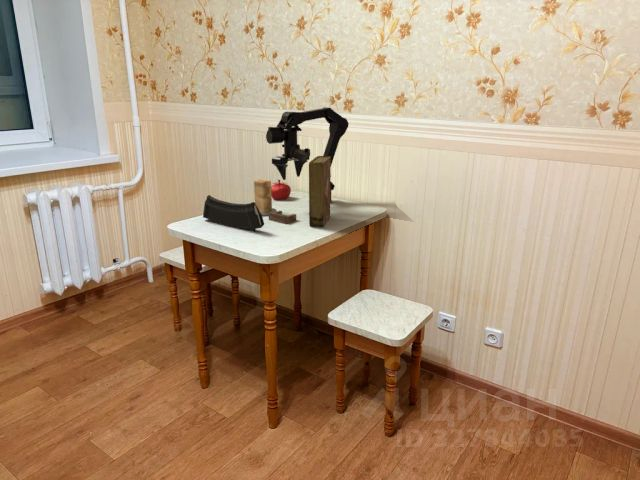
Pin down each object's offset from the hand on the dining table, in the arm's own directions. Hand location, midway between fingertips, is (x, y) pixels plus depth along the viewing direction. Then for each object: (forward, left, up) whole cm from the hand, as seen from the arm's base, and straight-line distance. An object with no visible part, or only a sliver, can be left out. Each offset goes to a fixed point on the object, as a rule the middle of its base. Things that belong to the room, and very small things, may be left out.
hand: (291, 178), depth 209 cm
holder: (+1, +20, -13) cm, 24 cm away
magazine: (+20, +29, -13) cm, 38 cm away
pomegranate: (+7, -16, -13) cm, 22 cm away
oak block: (+11, +10, -12) cm, 19 cm away
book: (-14, +22, -13) cm, 29 cm away
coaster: (+11, +10, -13) cm, 20 cm away
